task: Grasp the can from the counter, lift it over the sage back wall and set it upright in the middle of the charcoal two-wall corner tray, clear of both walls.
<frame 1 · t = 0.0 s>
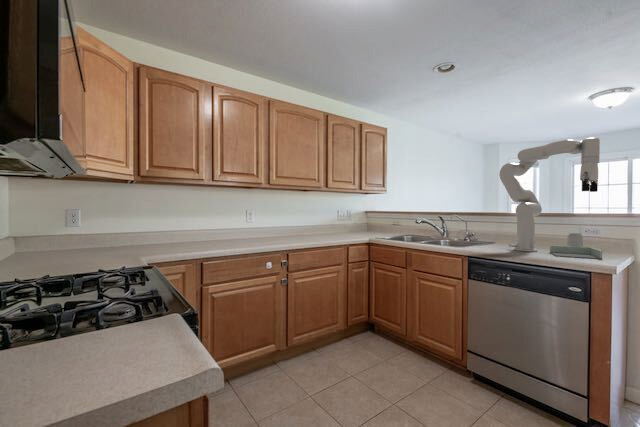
hand: (589, 191, 165), 37 cm above the countertop, tool pointing down, fingers open, 9 cm apart
arena: (574, 255, 173), on the countertop
can: (575, 252, 189), on the countertop
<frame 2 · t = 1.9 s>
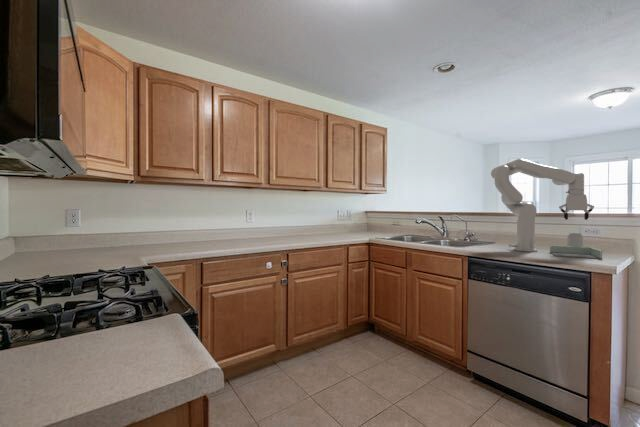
hand: (576, 219, 188), 21 cm above the countertop, tool pointing down, fingers open, 9 cm apart
nothing on the countertop moved.
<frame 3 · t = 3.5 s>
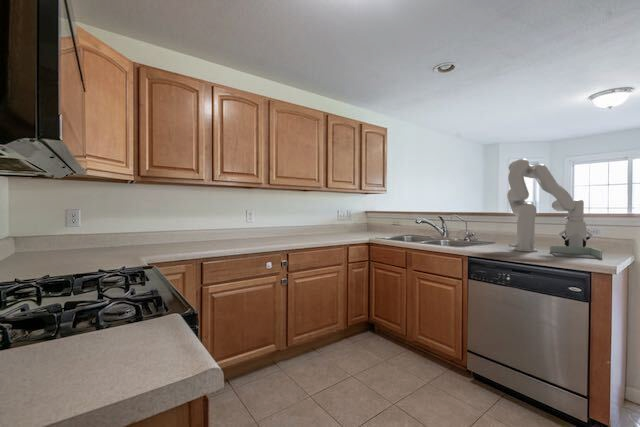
hand: (575, 246, 188), 3 cm above the countertop, tool pointing down, fingers closed on can, 7 cm apart
can: (575, 252, 189), on the countertop, touching gripper
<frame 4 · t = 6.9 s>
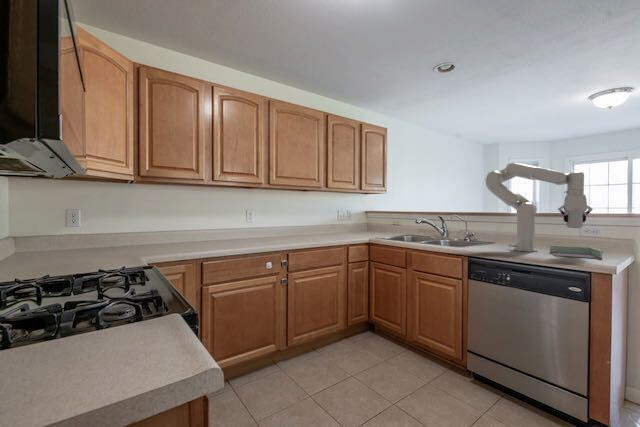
hand: (574, 221, 178), 20 cm above the countertop, tool pointing down, fingers closed on can, 7 cm apart
can: (574, 228, 178), point 16 cm above the countertop, touching gripper
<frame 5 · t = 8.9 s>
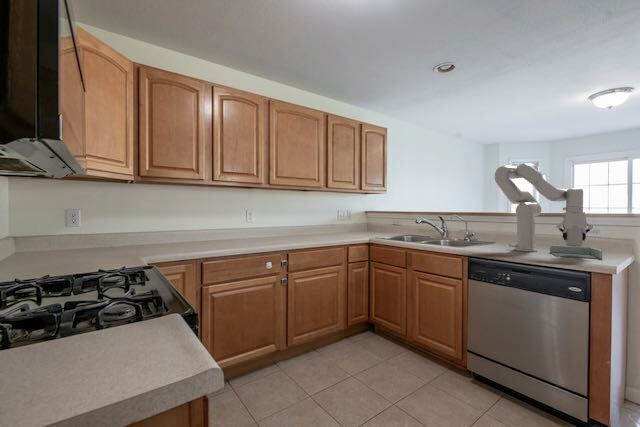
hand: (573, 239, 172), 9 cm above the countertop, tool pointing down, fingers closed on can, 7 cm apart
can: (573, 246, 172), point 6 cm above the countertop, touching gripper
when the fingers open (5 cm above the countertop, at t = 10.3 s): can drops 1 cm, resting on arena.
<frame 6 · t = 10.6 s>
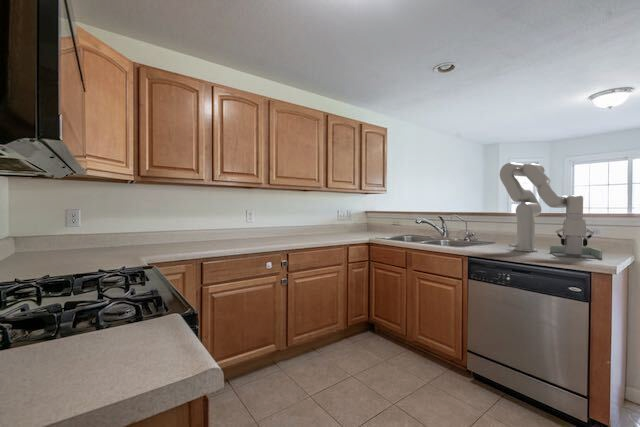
hand: (573, 245, 172), 6 cm above the countertop, tool pointing down, fingers open, 9 cm apart
can: (573, 255, 173), resting on arena
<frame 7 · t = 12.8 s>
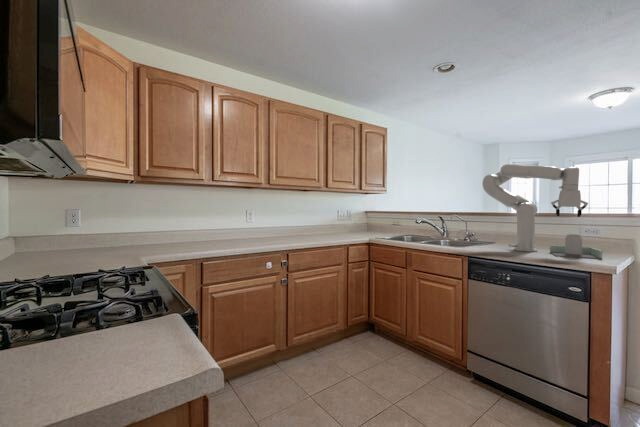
hand: (568, 216, 179), 23 cm above the countertop, tool pointing down, fingers open, 9 cm apart
nothing on the countertop moved.
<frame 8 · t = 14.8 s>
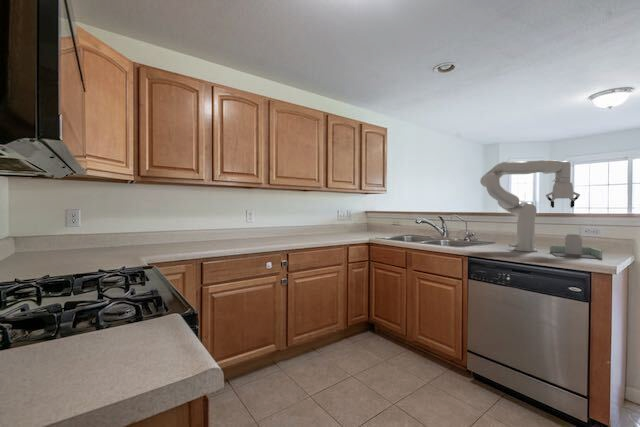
hand: (562, 207, 190), 28 cm above the countertop, tool pointing down, fingers open, 9 cm apart
nothing on the countertop moved.
at the end: can inside the target area on the arena (0.4 cm from its centre), point 0.4 cm above the arena's base; can tilted 0°; the gripper is holding nothing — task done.
